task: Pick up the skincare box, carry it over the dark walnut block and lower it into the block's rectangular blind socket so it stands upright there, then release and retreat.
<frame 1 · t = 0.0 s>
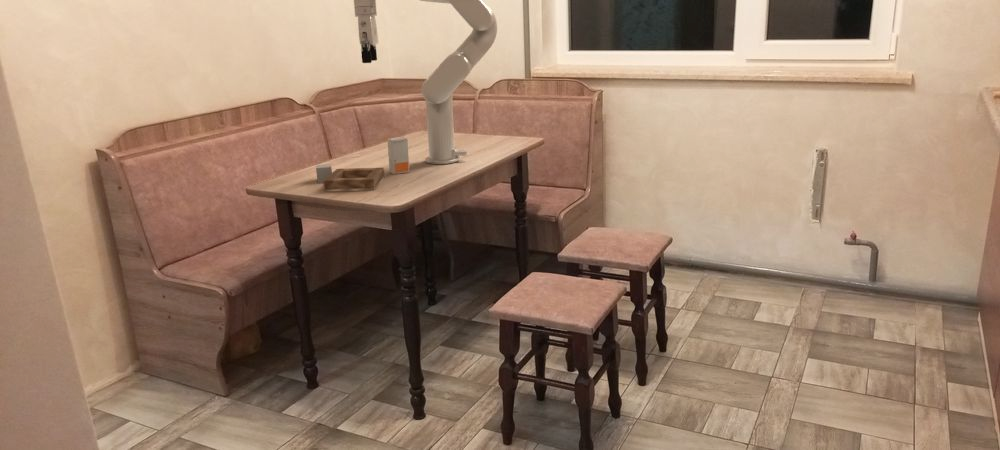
hand: (369, 61, 271), 37 cm above the table, tool pointing down, fingers open, 9 cm apart
socket block: (355, 184, 250), on the table
skincare box: (399, 173, 265), on the table
grey cube: (325, 180, 258), on the table
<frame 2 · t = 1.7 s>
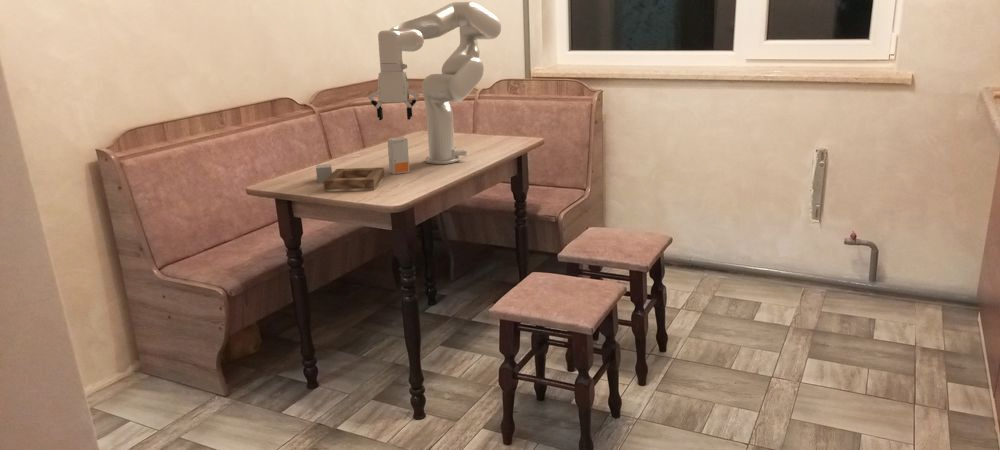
hand: (395, 119, 259), 19 cm above the table, tool pointing down, fingers open, 9 cm apart
nothing on the table moved.
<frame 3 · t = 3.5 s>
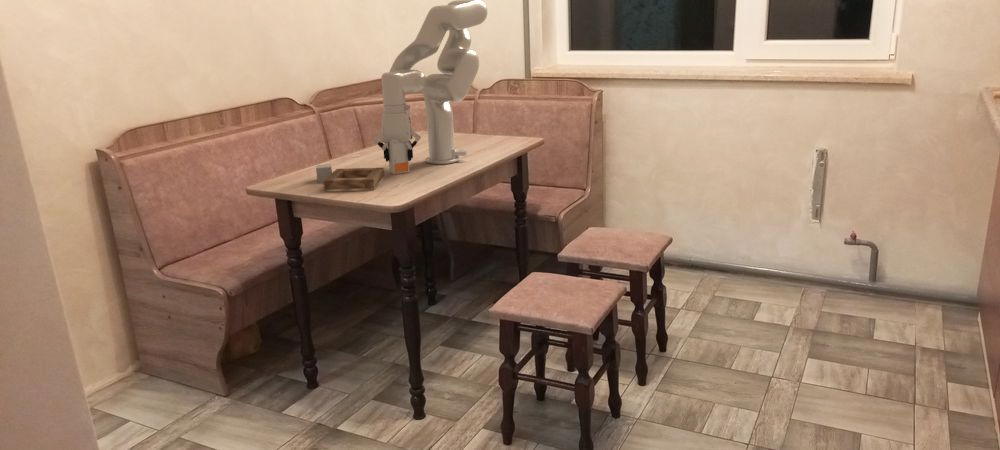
hand: (398, 160, 264), 4 cm above the table, tool pointing down, fingers closed on skincare box, 7 cm apart
skincare box: (399, 172, 265), on the table, touching gripper
everything else where it was.
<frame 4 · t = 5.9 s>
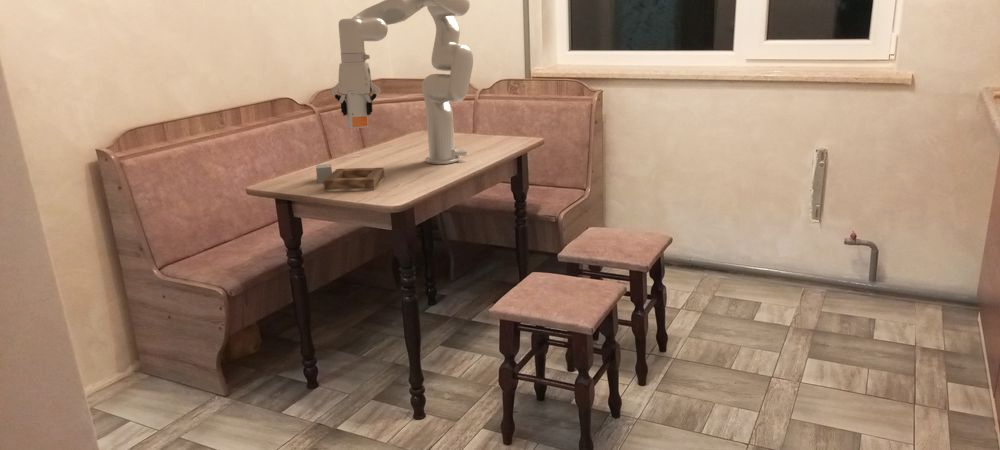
hand: (357, 114, 246), 23 cm above the table, tool pointing down, fingers closed on skincare box, 7 cm apart
skincare box: (358, 128, 247), point 18 cm above the table, touching gripper
everything else where it was.
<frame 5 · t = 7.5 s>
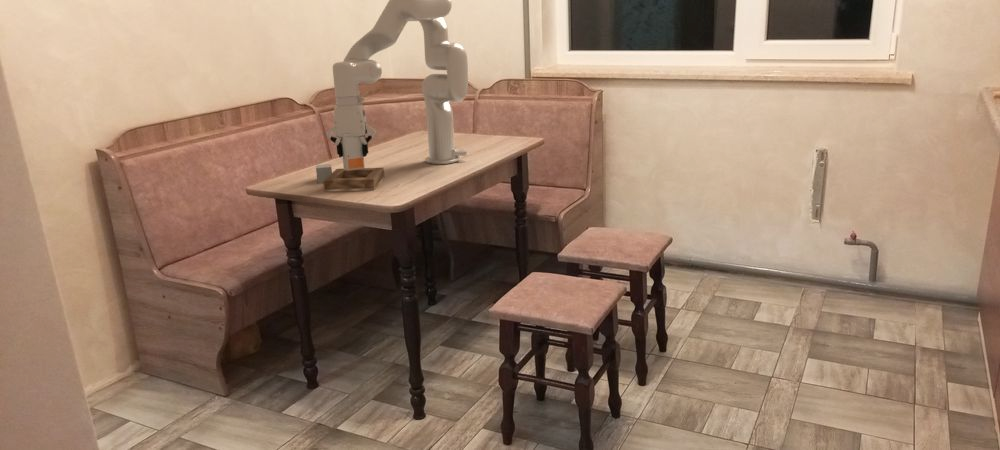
hand: (353, 155, 248), 10 cm above the table, tool pointing down, fingers closed on skincare box, 7 cm apart
skincare box: (354, 169, 249), point 5 cm above the table, touching gripper
everything else where it was.
when the fingers open (5 cm above the table, at t = 8.9 s): skincare box stays where it is, resting on socket block.
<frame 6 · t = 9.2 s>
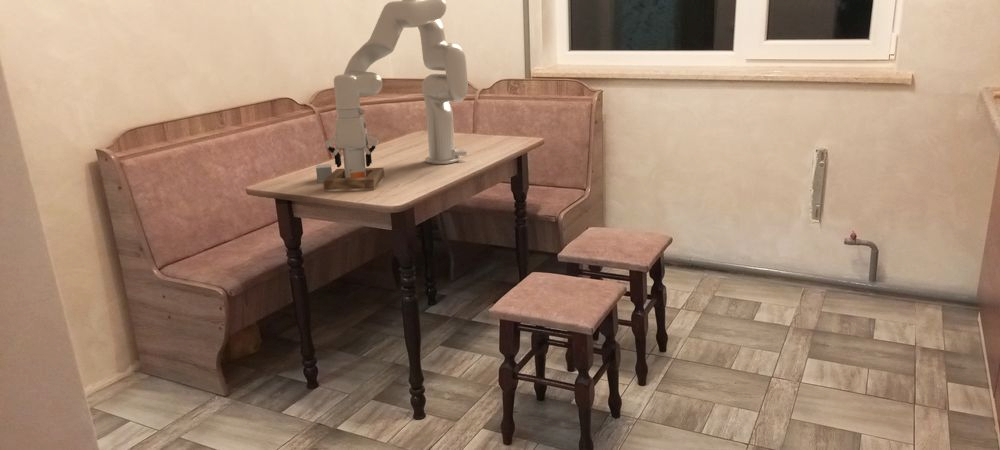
hand: (353, 166, 249), 6 cm above the table, tool pointing down, fingers open, 9 cm apart
skincare box: (356, 183, 250), resting on socket block
everything else where it was.
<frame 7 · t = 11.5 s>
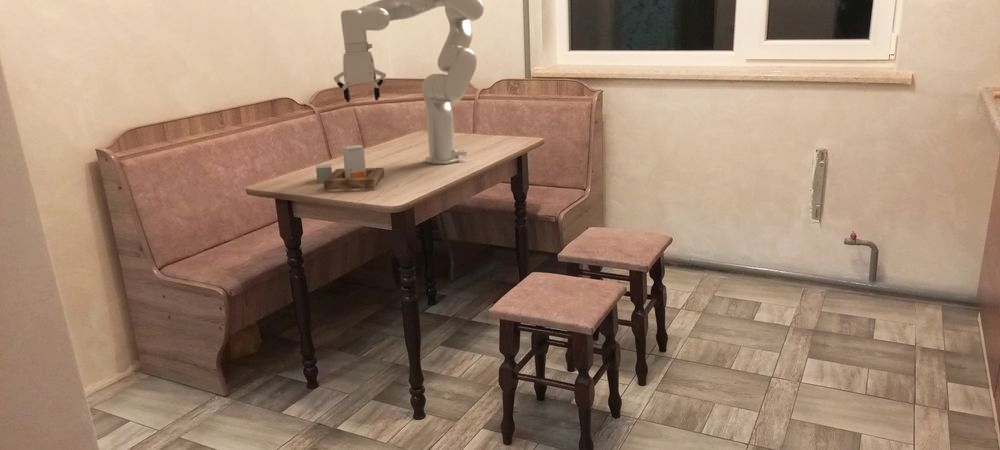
hand: (362, 100, 255), 26 cm above the table, tool pointing down, fingers open, 9 cm apart
nothing on the table moved.
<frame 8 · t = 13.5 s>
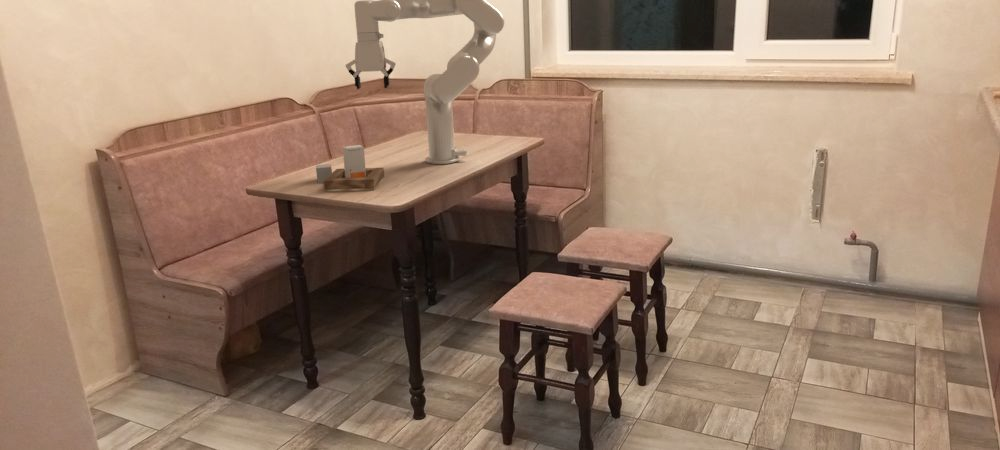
hand: (372, 88, 266), 28 cm above the table, tool pointing down, fingers open, 9 cm apart
nothing on the table moved.
at the end: skincare box inside the target area on the socket block (0.4 cm from its centre), point 0.4 cm above the socket block's base; skincare box tilted 0°; the gripper is holding nothing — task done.
